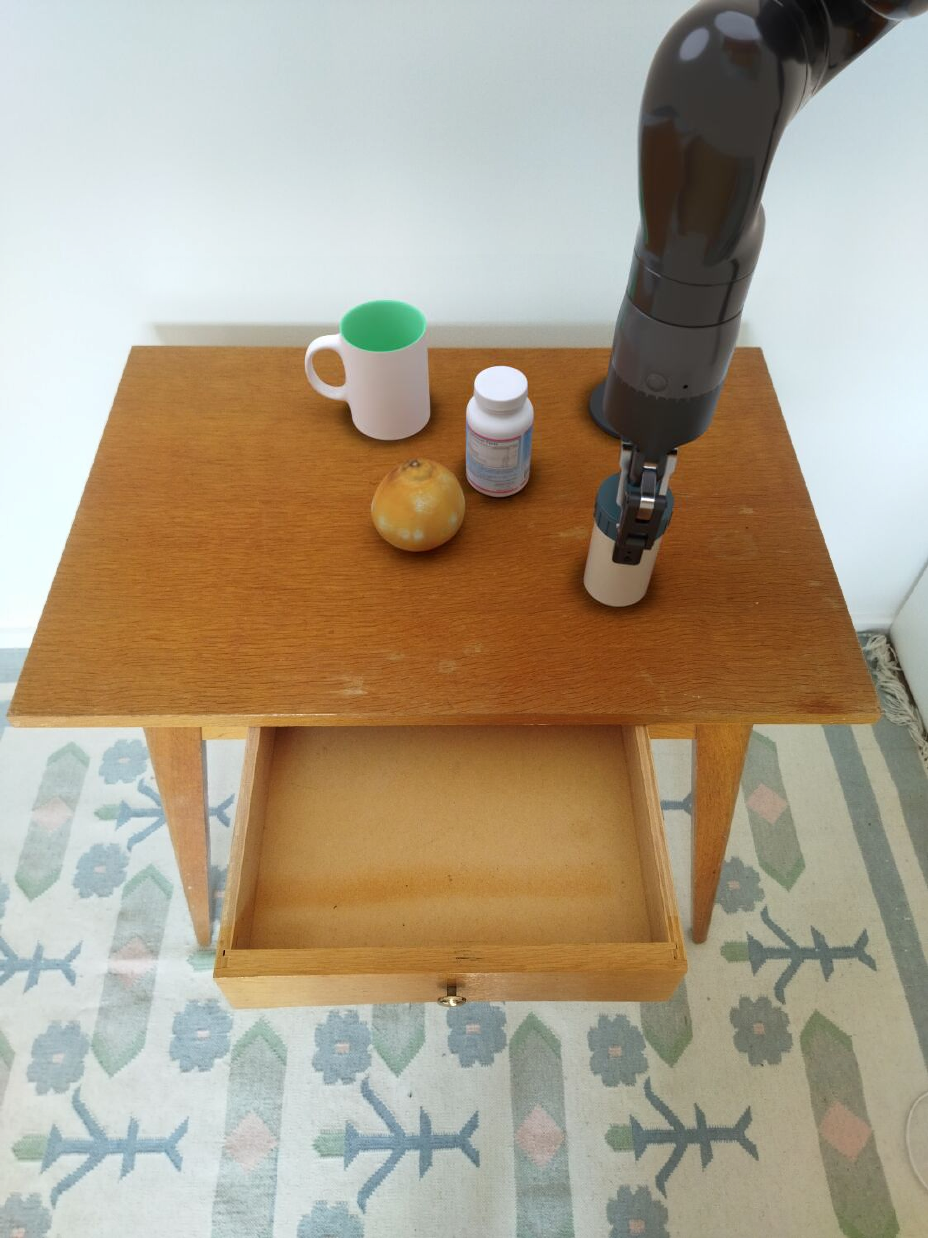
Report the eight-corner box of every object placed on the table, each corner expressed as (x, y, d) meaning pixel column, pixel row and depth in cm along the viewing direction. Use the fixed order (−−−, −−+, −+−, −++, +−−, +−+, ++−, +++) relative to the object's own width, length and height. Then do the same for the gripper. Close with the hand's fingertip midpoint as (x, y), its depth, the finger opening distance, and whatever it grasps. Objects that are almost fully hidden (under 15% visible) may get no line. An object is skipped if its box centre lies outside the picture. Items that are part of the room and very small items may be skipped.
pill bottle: (496, 446, 82) (500, 350, 73) (541, 477, 79) (551, 382, 70) (452, 476, 79) (451, 381, 70) (497, 509, 77) (502, 415, 68)
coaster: (686, 383, 87) (687, 379, 87) (686, 448, 82) (687, 443, 81) (592, 374, 88) (593, 369, 88) (585, 437, 83) (586, 432, 82)
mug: (310, 441, 82) (292, 354, 74) (316, 389, 87) (300, 301, 78) (430, 439, 82) (426, 351, 74) (430, 386, 87) (426, 298, 79)
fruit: (397, 461, 77) (382, 435, 69) (479, 485, 76) (473, 462, 68) (370, 543, 77) (351, 527, 69) (452, 569, 76) (442, 556, 68)
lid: (669, 494, 67) (675, 474, 65) (668, 550, 63) (674, 530, 61) (596, 486, 67) (599, 465, 65) (590, 541, 64) (594, 521, 62)
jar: (648, 560, 73) (671, 480, 65) (646, 610, 70) (670, 532, 62) (586, 553, 74) (601, 472, 66) (581, 602, 71) (596, 523, 62)
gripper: (732, 438, 48) (672, 607, 62) (726, 297, 57) (675, 473, 70) (604, 424, 49) (573, 594, 63) (617, 286, 57) (587, 463, 71)
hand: (627, 530), depth 66 cm, fingers closed on lid, 6 cm apart
